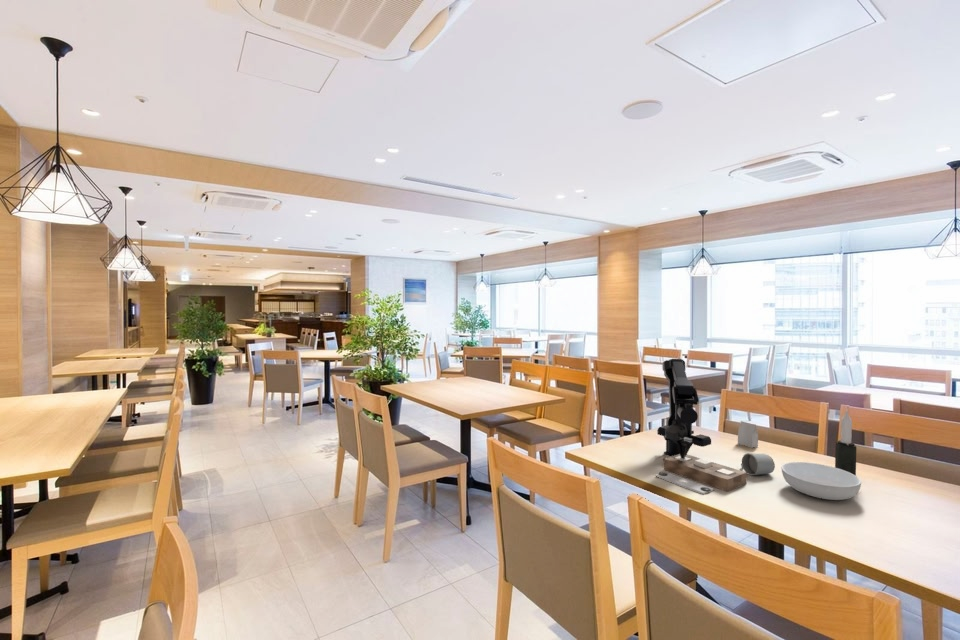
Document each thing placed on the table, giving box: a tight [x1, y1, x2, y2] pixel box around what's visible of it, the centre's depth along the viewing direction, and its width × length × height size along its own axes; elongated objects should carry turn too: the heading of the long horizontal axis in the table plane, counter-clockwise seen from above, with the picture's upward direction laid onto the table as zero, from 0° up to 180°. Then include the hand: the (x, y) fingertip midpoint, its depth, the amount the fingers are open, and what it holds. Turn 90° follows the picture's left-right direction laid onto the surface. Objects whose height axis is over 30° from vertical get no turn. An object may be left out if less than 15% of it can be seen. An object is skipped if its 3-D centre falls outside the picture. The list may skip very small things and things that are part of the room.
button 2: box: [717, 469, 735, 476], centre depth 154 cm, size 4×4×3 cm
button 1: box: [675, 456, 691, 462], centre depth 168 cm, size 4×4×3 cm
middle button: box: [695, 458, 713, 469], centre depth 161 cm, size 4×4×3 cm
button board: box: [663, 454, 748, 492], centre depth 161 cm, size 24×12×4 cm, turn 32°
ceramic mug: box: [740, 452, 776, 476], centre depth 165 cm, size 11×8×8 cm
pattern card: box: [655, 471, 714, 495], centre depth 155 cm, size 19×6×1 cm, turn 32°
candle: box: [834, 409, 857, 476], centre depth 157 cm, size 5×5×25 cm
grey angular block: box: [737, 420, 759, 449], centre depth 197 cm, size 4×7×10 cm, turn 24°
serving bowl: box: [781, 461, 862, 501], centre depth 146 cm, size 21×21×7 cm
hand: (682, 458), depth 168 cm, fingers closed, pressing on button 1
